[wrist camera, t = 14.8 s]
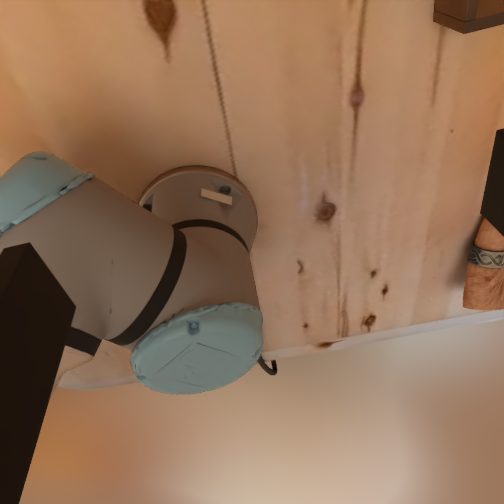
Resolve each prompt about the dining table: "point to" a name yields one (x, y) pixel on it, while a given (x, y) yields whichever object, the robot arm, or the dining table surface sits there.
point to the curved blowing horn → (485, 271)
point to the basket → (469, 14)
